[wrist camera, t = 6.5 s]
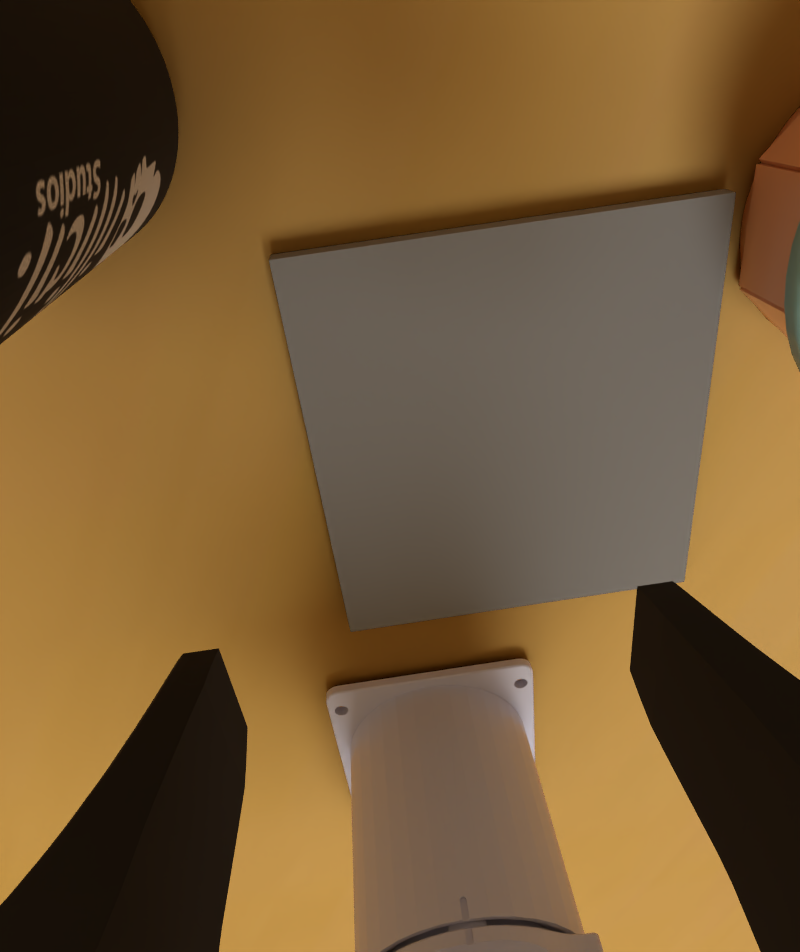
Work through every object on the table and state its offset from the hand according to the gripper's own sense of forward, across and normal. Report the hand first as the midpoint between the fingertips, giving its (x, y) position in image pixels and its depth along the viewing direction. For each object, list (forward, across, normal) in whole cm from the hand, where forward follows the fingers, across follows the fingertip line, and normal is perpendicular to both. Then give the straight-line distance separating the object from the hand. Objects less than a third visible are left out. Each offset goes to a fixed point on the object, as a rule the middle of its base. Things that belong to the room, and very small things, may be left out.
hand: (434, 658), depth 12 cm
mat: (+10, -4, +2) cm, 11 cm away
